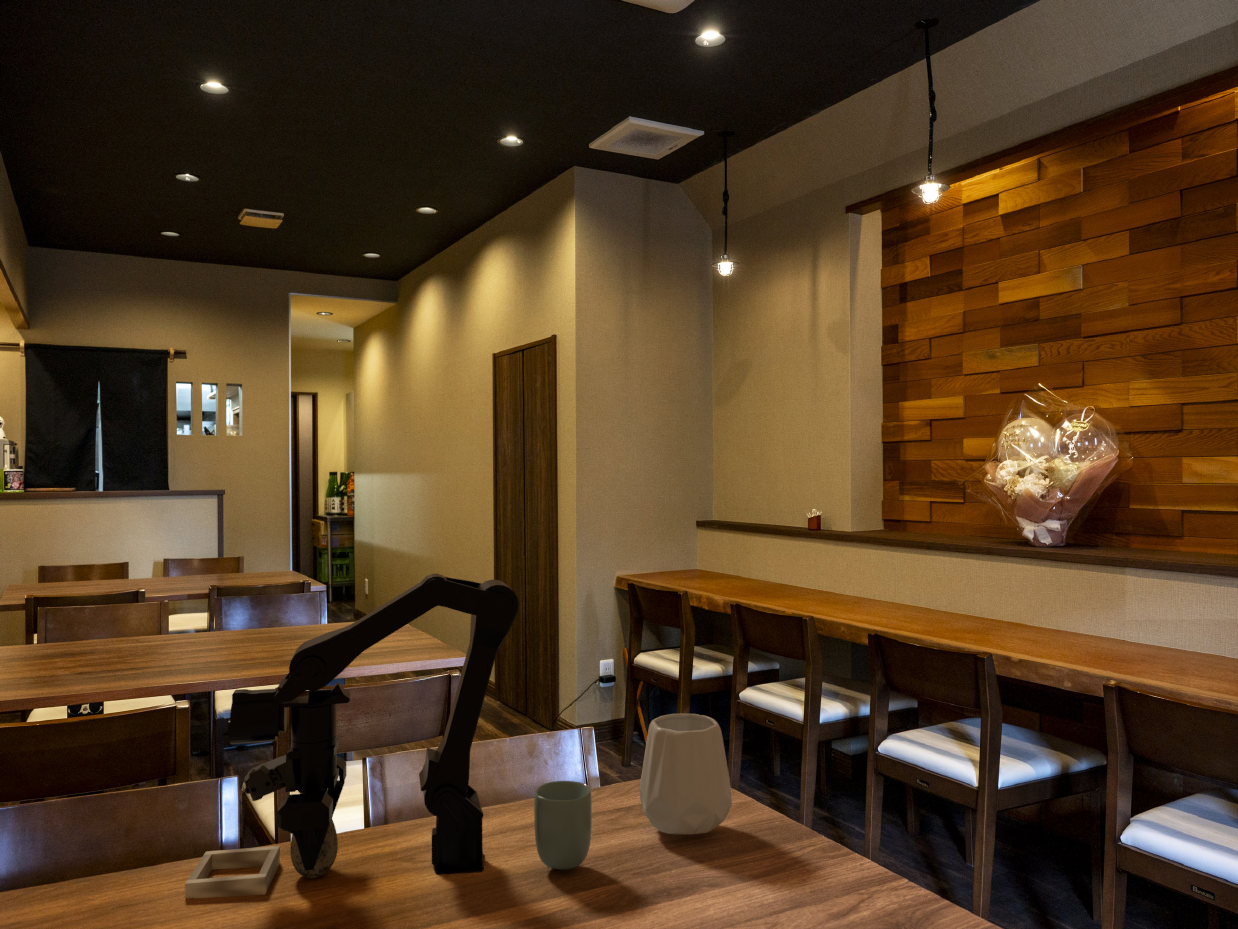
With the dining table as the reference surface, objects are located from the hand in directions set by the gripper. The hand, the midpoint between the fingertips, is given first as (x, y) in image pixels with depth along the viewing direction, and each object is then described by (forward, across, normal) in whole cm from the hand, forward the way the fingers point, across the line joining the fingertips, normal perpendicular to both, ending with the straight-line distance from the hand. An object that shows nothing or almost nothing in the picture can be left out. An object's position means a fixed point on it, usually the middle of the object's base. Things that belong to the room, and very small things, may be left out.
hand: (314, 854), depth 119 cm
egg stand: (+3, 0, -10) cm, 11 cm away
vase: (+3, -8, +53) cm, 54 cm away
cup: (+3, +2, +33) cm, 33 cm away
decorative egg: (+3, 0, 0) cm, 3 cm away
